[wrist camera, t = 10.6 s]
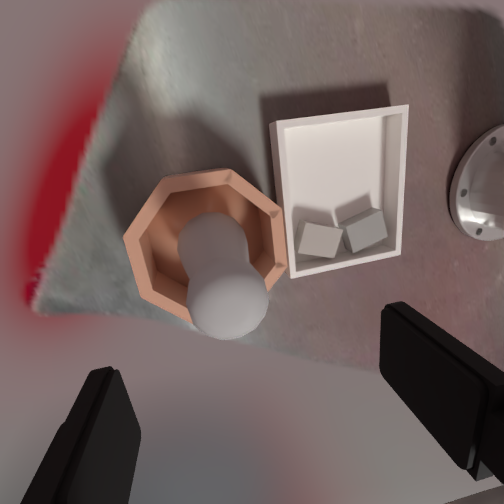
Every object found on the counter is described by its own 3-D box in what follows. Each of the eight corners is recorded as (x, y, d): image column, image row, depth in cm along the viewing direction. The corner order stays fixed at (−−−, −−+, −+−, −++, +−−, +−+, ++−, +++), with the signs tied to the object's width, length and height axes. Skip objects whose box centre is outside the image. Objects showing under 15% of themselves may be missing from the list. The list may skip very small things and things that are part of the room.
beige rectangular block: (335, 225, 29) (343, 229, 27) (326, 253, 30) (334, 258, 28) (299, 219, 28) (306, 222, 26) (292, 248, 29) (297, 253, 27)
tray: (391, 108, 26) (408, 104, 24) (386, 248, 31) (400, 254, 29) (268, 123, 25) (276, 120, 22) (283, 270, 29) (290, 278, 27)
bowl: (261, 161, 25) (277, 162, 21) (275, 281, 29) (290, 302, 25) (123, 181, 24) (107, 187, 19) (157, 306, 28) (152, 335, 23)
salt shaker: (183, 201, 24) (179, 244, 12) (247, 212, 26) (300, 261, 14) (174, 264, 26) (163, 358, 14) (235, 271, 27) (273, 361, 15)
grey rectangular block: (371, 207, 29) (381, 210, 28) (378, 232, 30) (387, 236, 29) (337, 223, 29) (345, 227, 27) (345, 248, 30) (353, 253, 28)
